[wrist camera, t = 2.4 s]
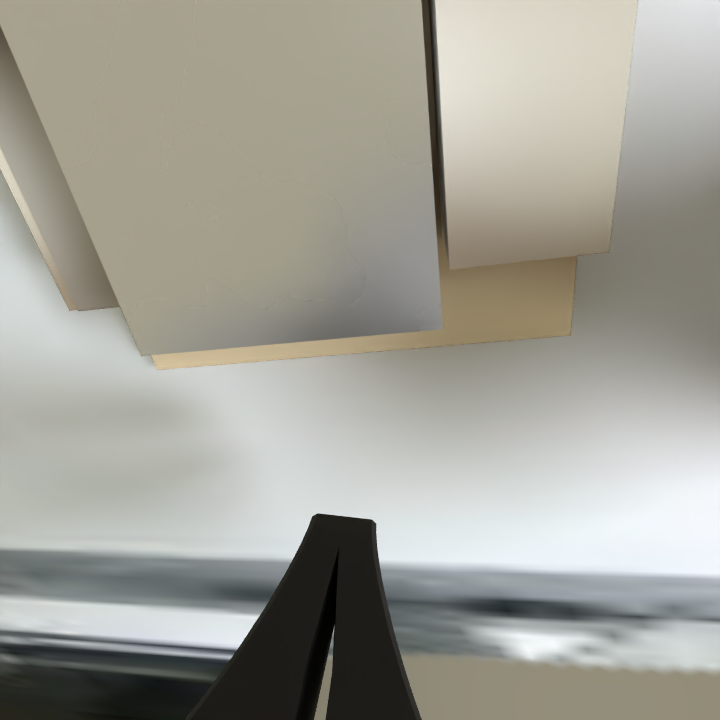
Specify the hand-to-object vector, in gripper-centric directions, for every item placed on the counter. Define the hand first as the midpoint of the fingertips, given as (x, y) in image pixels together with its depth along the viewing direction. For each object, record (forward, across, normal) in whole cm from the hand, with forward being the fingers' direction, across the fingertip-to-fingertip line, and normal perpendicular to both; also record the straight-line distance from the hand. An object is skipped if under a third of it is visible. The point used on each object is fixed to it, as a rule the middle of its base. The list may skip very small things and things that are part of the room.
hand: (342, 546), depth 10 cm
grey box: (+4, +3, -8) cm, 10 cm away
